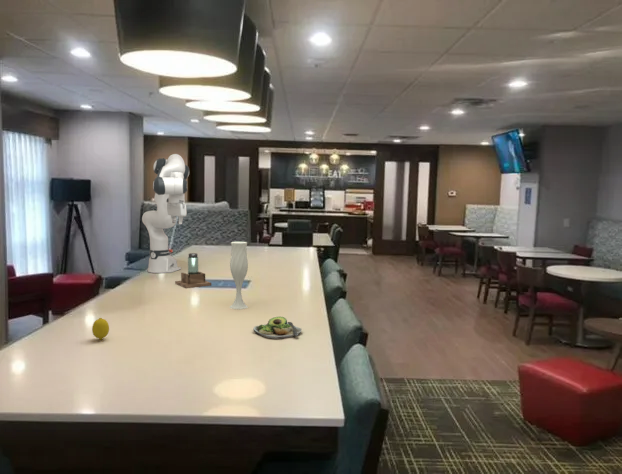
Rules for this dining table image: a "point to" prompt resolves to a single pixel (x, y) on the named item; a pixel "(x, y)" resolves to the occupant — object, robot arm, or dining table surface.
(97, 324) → the lemon
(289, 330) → the salad plate
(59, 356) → the dining table surface
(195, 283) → the u rest
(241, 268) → the vase
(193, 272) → the flask
